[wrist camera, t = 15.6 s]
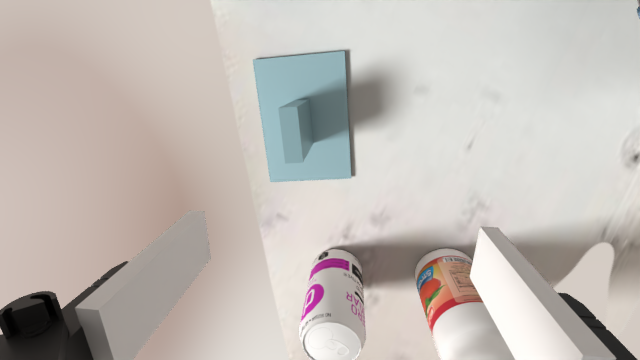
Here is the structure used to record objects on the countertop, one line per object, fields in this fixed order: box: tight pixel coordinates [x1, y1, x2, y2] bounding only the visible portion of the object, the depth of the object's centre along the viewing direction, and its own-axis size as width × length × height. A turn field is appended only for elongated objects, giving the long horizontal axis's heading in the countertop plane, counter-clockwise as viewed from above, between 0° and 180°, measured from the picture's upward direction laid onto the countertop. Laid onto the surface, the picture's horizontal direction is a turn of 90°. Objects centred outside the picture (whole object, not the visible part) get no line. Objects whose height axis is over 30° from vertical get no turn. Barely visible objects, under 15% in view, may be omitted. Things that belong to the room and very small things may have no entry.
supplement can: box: [299, 249, 366, 360], centre depth 43 cm, size 8×8×15 cm
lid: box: [253, 51, 351, 182], centre depth 37 cm, size 17×12×11 cm
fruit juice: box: [415, 248, 515, 360], centre depth 35 cm, size 9×9×28 cm
